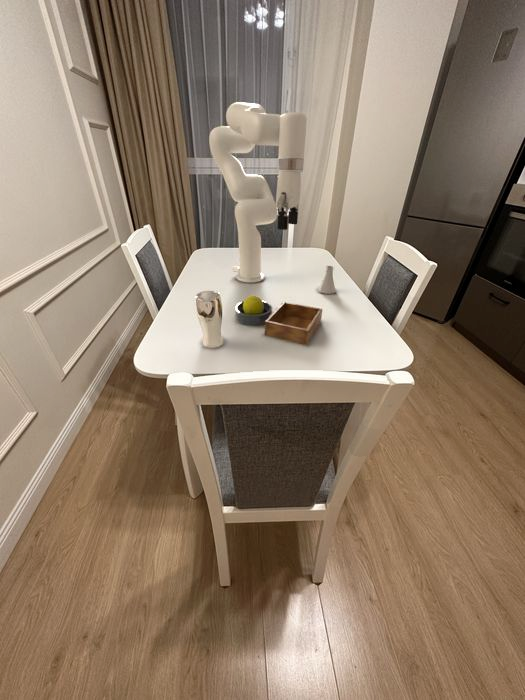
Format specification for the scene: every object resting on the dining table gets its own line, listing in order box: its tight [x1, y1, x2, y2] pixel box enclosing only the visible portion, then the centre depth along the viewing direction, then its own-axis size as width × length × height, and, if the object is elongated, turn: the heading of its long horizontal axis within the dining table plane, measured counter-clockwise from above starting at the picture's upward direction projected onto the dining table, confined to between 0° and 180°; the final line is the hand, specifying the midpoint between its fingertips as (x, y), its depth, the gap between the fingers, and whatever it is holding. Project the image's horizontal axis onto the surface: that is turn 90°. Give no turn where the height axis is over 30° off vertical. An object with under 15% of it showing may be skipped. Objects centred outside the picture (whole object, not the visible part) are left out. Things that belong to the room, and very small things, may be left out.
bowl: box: [234, 300, 273, 327], centre depth 96 cm, size 12×12×4 cm
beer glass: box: [195, 290, 224, 349], centre depth 80 cm, size 7×7×15 cm
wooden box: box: [264, 301, 323, 346], centre depth 90 cm, size 14×16×5 cm
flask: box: [317, 265, 336, 295], centre depth 115 cm, size 7×7×10 cm
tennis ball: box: [243, 295, 264, 315], centre depth 96 cm, size 7×7×7 cm
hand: (287, 226), depth 96 cm, fingers open, 9 cm apart
